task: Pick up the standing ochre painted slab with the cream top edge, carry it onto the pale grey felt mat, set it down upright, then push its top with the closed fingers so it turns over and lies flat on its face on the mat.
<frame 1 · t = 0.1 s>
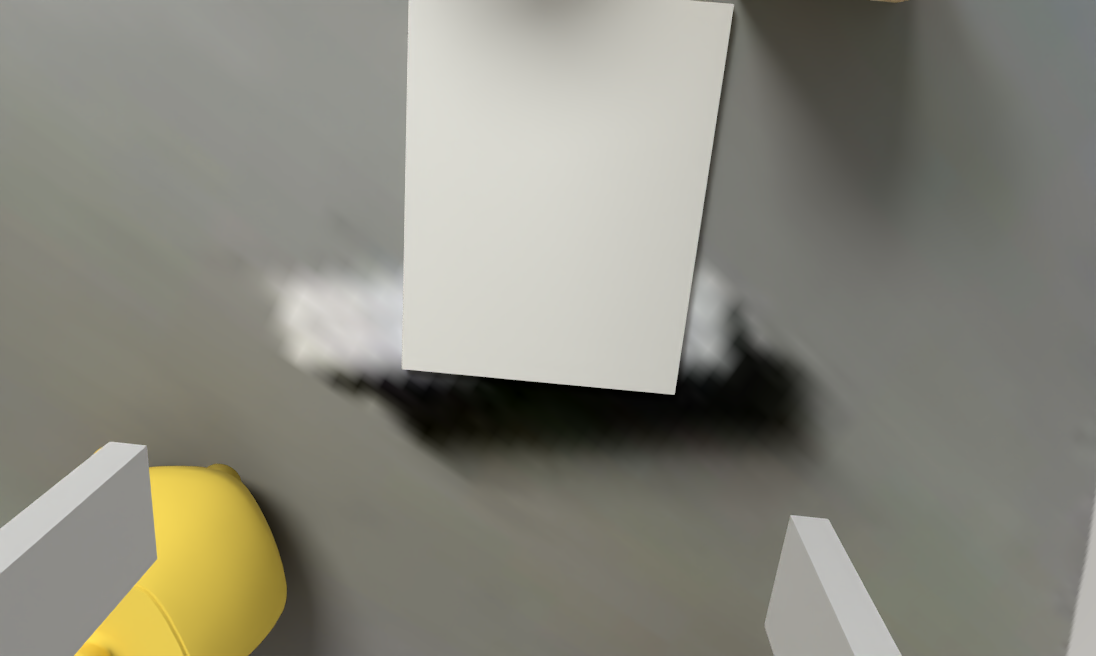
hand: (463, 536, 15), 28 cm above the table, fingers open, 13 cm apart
mat: (553, 201, 41), on the table
teapot: (206, 547, 50), on the table
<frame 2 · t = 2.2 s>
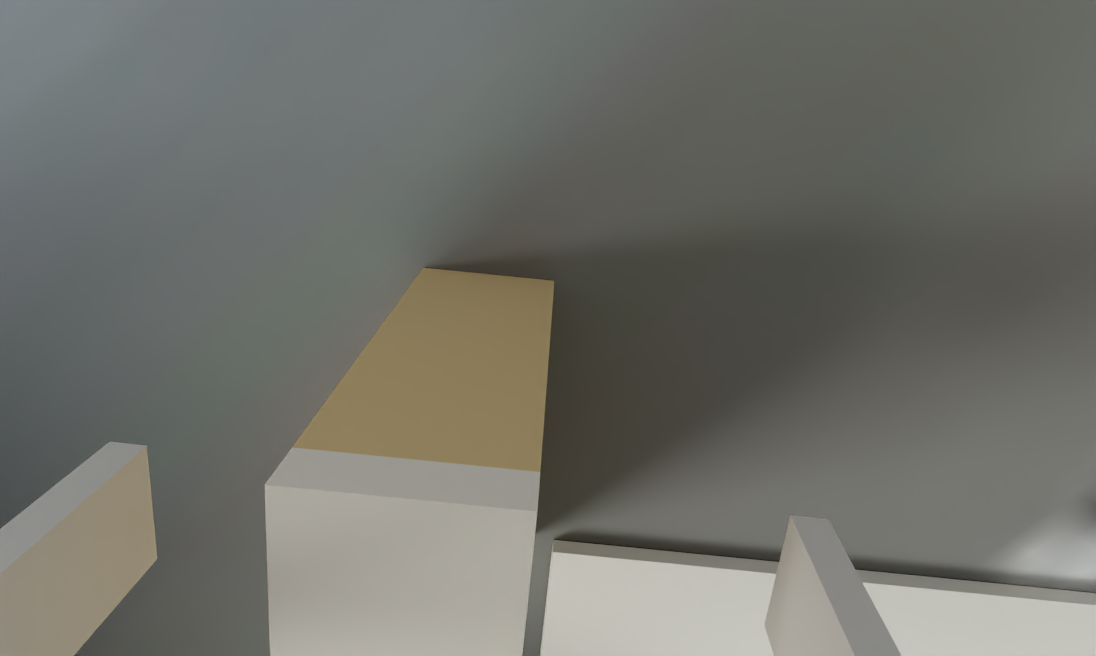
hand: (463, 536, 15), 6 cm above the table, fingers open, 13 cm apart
slab: (479, 410, 21), on the table
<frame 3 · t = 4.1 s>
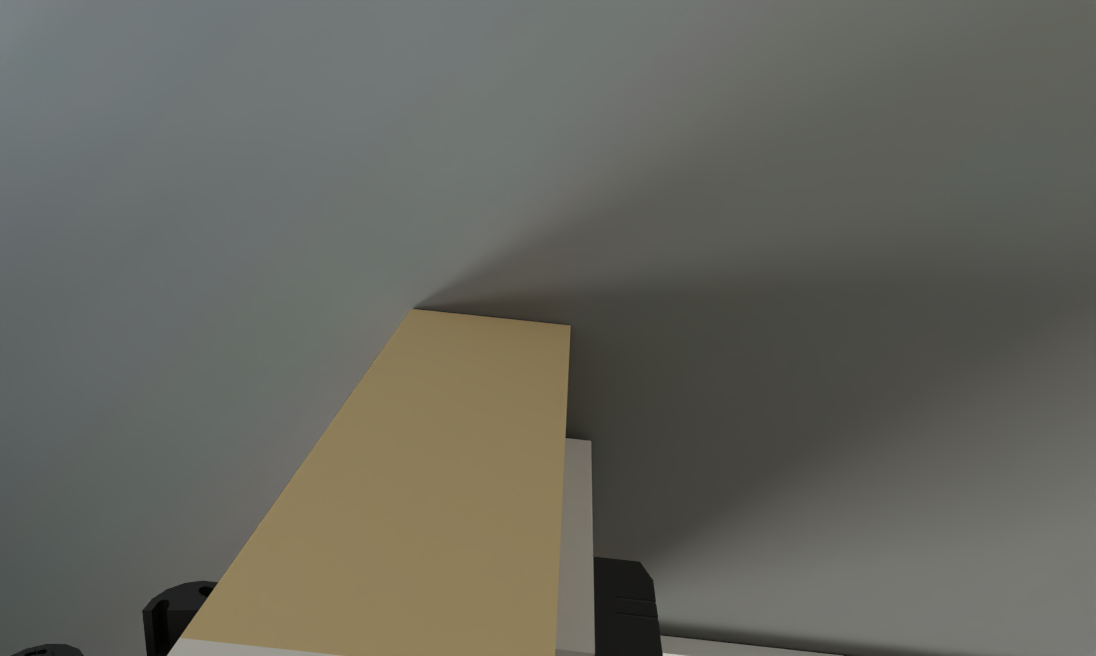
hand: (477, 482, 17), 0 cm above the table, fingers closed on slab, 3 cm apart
slab: (479, 477, 18), on the table, touching gripper
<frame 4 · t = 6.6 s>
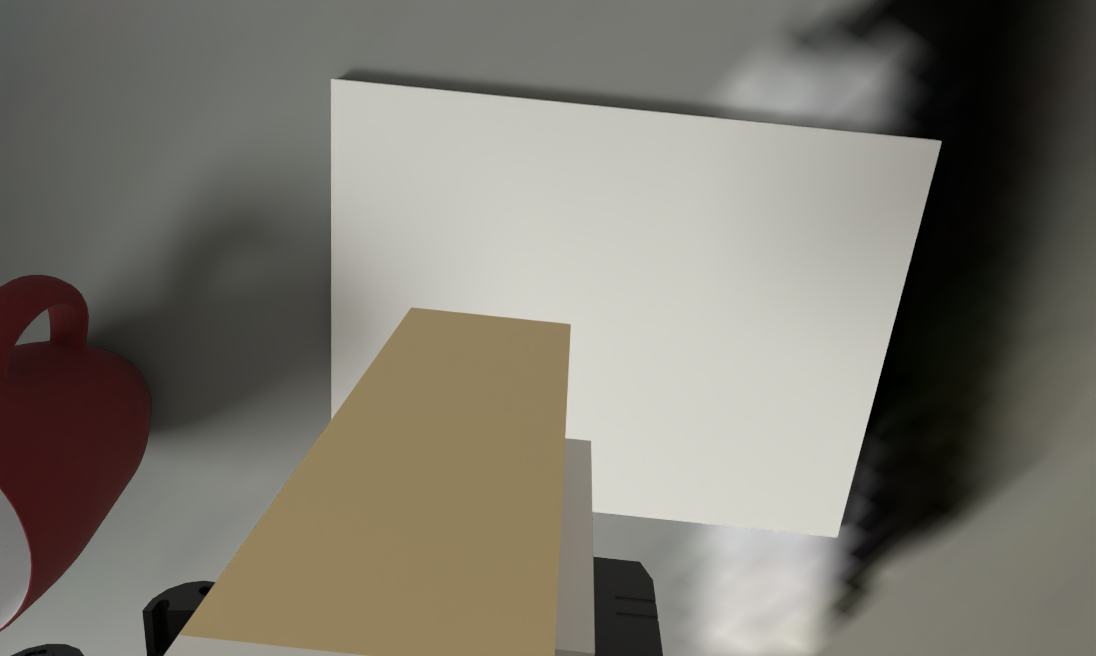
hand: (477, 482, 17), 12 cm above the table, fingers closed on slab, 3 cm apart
mat: (606, 324, 29), on the table
slab: (479, 476, 18), point 12 cm above the table, touching gripper
mug: (106, 363, 31), on the table
when the fingers open (1 cm above the table, at t = 9.0 s): slab stays where it is, resting on mat.
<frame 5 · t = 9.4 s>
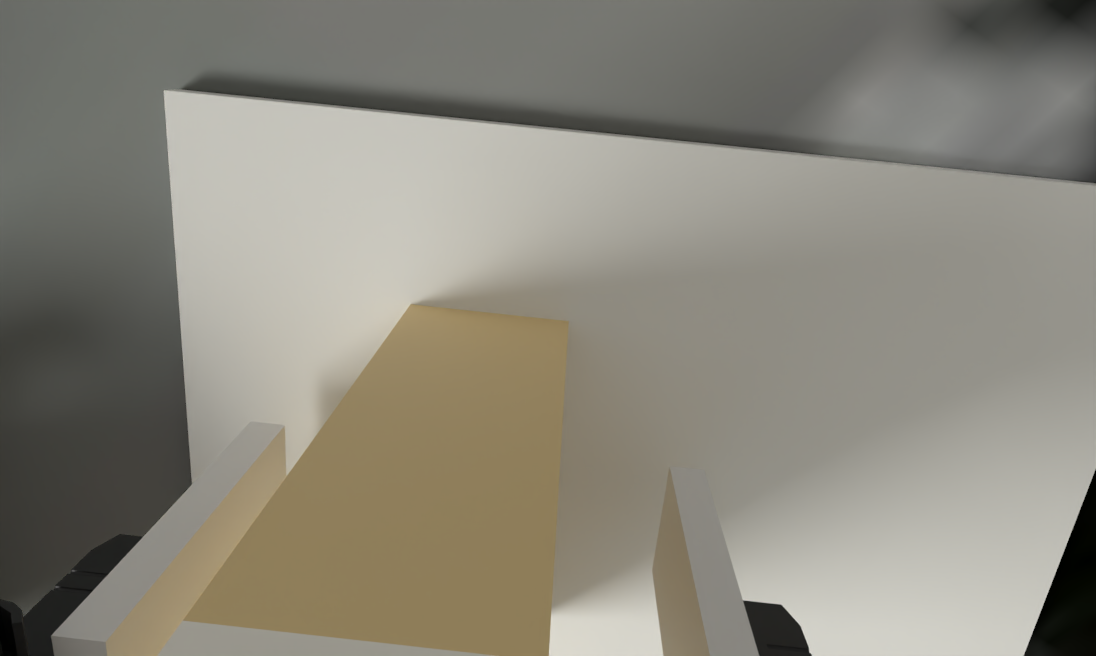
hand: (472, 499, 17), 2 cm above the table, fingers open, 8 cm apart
mat: (625, 474, 18), on the table
slab: (477, 471, 18), point 1 cm above the table, touching mat
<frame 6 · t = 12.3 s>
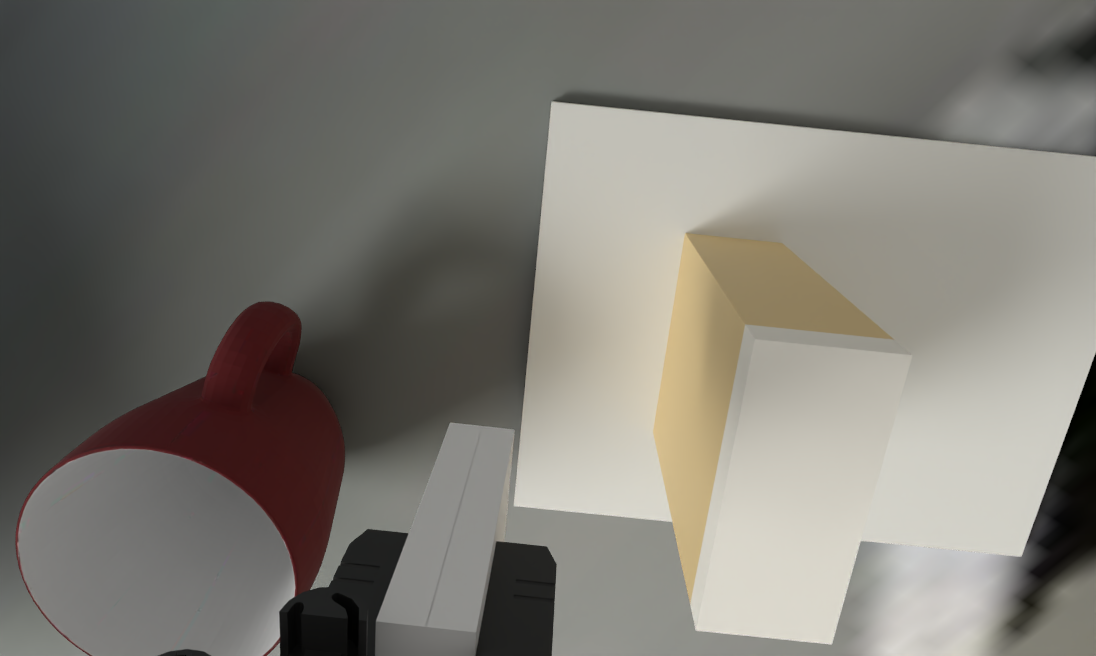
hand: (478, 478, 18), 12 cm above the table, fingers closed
mat: (804, 345, 29), on the table
slab: (714, 341, 28), point 1 cm above the table, touching mat
mug: (288, 386, 30), on the table
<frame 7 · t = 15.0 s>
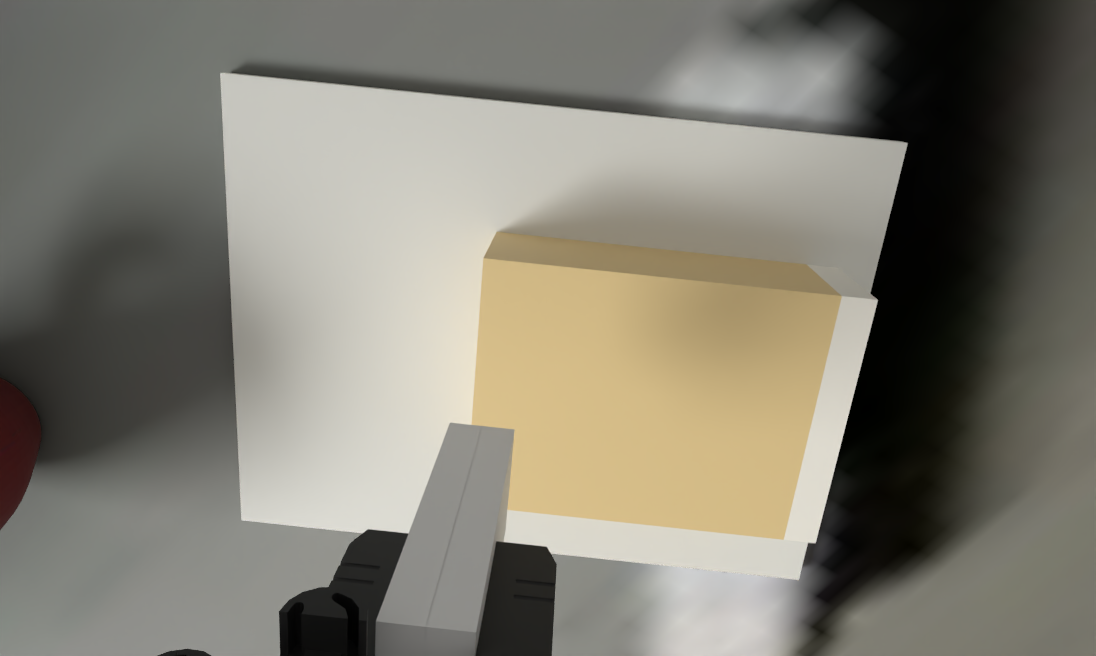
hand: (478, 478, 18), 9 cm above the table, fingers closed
mat: (539, 345, 26), on the table
slab: (481, 366, 24), point 2 cm above the table, tilted 90°, touching mat
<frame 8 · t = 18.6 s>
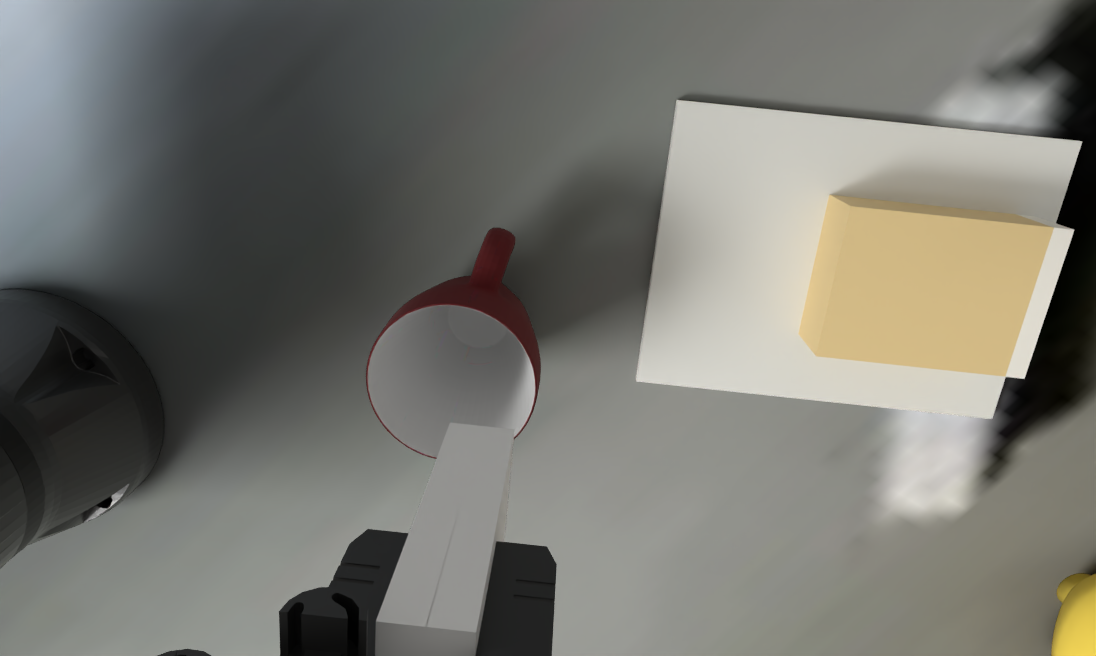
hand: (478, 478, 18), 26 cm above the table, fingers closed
mat: (841, 266, 42), on the table
slab: (822, 274, 40), point 2 cm above the table, tilted 90°, touching mat
mug: (483, 296, 44), on the table
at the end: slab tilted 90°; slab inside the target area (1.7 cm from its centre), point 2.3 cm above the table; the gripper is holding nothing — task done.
